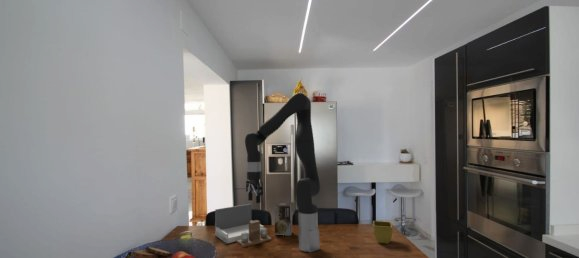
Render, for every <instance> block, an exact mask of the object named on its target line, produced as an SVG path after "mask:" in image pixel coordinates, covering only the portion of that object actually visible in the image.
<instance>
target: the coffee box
mask: <svg viewBox="0 0 579 258" xmlns="http://www.w3.org/2000/svg"><path fill="white" fill-rule="evenodd" d="M273 209H274V210H273V211H274V236H275V235H283V236H284V235H285V236H287V237H288V236H292V235H293V233H292V232H293V229H292V227H293V225H292V203H275V204H274V207H273Z"/></svg>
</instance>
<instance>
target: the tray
mask: <svg viewBox="0 0 579 258" xmlns="http://www.w3.org/2000/svg"><path fill="white" fill-rule="evenodd" d="M260 224H261V221H260V220H258V219H255V220H252V221H250V222H249V238H248V233H247V232H244V233H241V240H237V241H236V243H237V244H239V245H240V246H241V247H243V248H245V247H251V246H252V245H253V246H254V245H257V244H261V243H265V242H267V241H271V240H272V239H273V238H272V237H270V236H269V235H268V232H267V231H268V228H267V227H264V228H261V229H260Z"/></svg>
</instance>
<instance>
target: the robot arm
mask: <svg viewBox="0 0 579 258" xmlns="http://www.w3.org/2000/svg"><path fill="white" fill-rule="evenodd" d="M294 114H296V121H297V124H296V131H295V136H294V137H295V139H294V140H295V141H294V142H295V151H296V154H297V156H298V157H297V158H299V160H300V162H301V163H302V166H303V169H304V176H305V178H299V180H298V181H297V182H296V185H295V199H296V201H295V202H296V206H297V209H298V216H297V217H298V249H299V250H300V251H301V252H305V253H307V252H308V253H313V252H316V251H318V250H321V249H320V229H319V228H318V225H319V224H318V223H319V222H318V205H316V204H314V203H313V200H312V197H315V196H317V195H319V193H320V191H321V185H320V184H321V183H320V179H319V173H318V168H317V160H316V152H315V141H314V140H315V138H314V132H313V125H312V102H311V100H310V98H309V97H308V96H307V95H305V94H303V93H301V92H297V93H295V94H293V95H292V96H291V97H290V98H289V99H288V100H287V102H286V103H284V105H283V106H282V107H281V108H280V109H279V110H278V111H277V112H276V113H275V114H273V115H272V116H271V117H270V118H268V119H267V120H266V121H265V122H264V123H262V124H261V125H260V126H259V128H258V130H257V131H256V132H249V133H247V134H246V135H245V139H244V145H245V149H246V151H245V152H246V154H247V157H246V161H247V162H246V181H245V191H246V192H247V195H248V197H247V200H248V201H253V196H254V195H253V192H254V193H255V203H256V204H260V203H261V196H262V195H263V194H264V188H263V185H264V183H263V182H260V181H261V180H262V163H261V162H262V161H261V151H259V148H258V146H260V145H262V144H263V143H264V142H265V141H266V140H267V139H268V137H270V136H271V135H273V134H274V133H275V132H276V131H278V130H279V128H281V127H282V125H283V124H284V123H285V121H286V120H288V119H289V118H290V117H291V116H293V115H294Z"/></svg>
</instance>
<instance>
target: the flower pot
mask: <svg viewBox="0 0 579 258" xmlns="http://www.w3.org/2000/svg"><path fill="white" fill-rule="evenodd" d="M373 231H374V233H373V234H374V237H375V241H376V243H378V244H389V243H390V242H391V241H392V236H393V225H392V222H391V221H381V220H373Z"/></svg>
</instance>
